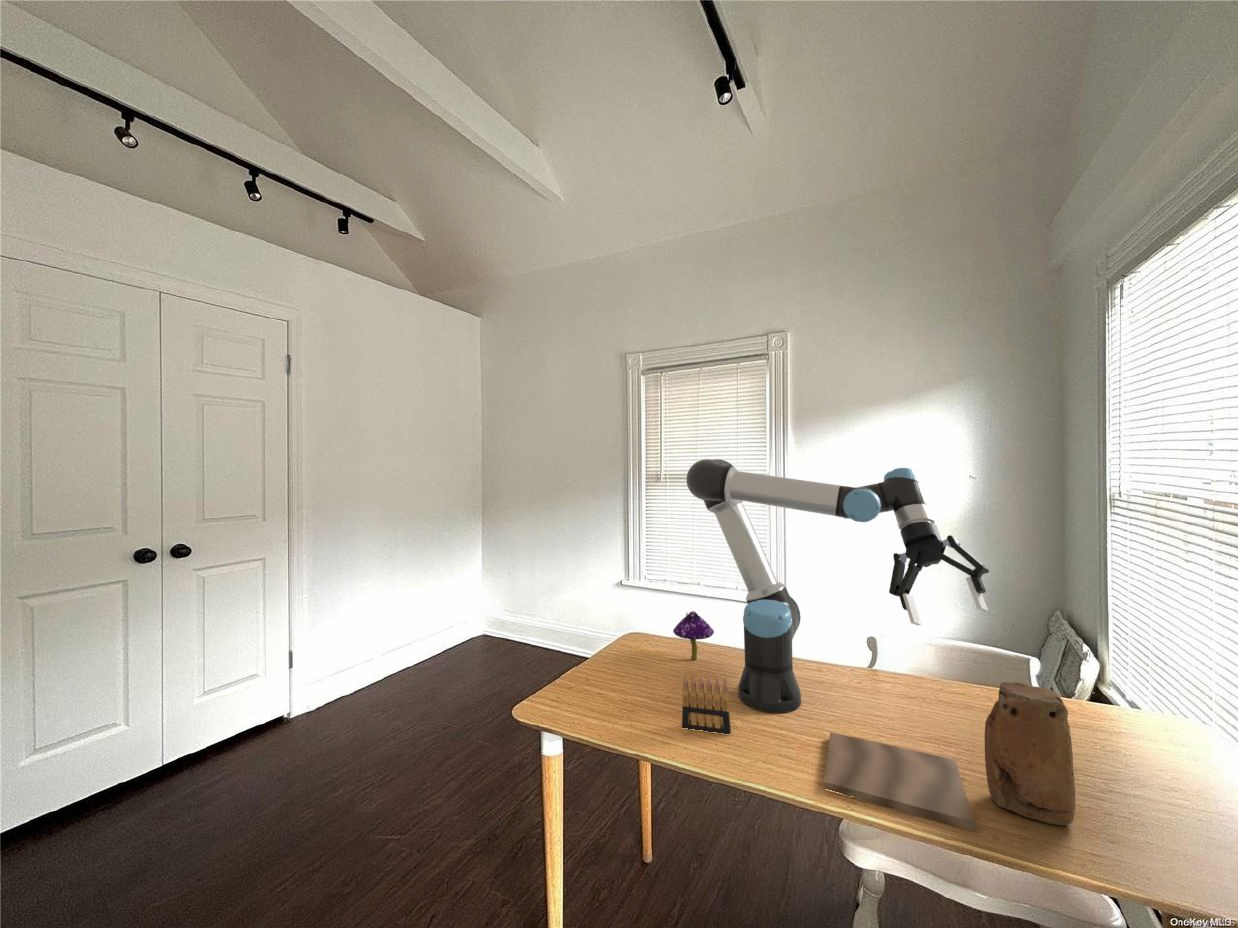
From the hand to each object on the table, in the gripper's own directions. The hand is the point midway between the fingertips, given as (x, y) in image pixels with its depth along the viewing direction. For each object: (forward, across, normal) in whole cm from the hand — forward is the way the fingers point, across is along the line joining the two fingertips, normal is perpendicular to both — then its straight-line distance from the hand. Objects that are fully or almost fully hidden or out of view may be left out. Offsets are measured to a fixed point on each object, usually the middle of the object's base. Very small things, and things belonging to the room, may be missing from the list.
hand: (947, 617), depth 99 cm
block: (+33, -2, 0) cm, 33 cm away
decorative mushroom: (0, +70, +11) cm, 70 cm away
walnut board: (+29, +14, +12) cm, 34 cm away
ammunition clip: (+22, +44, +30) cm, 57 cm away
